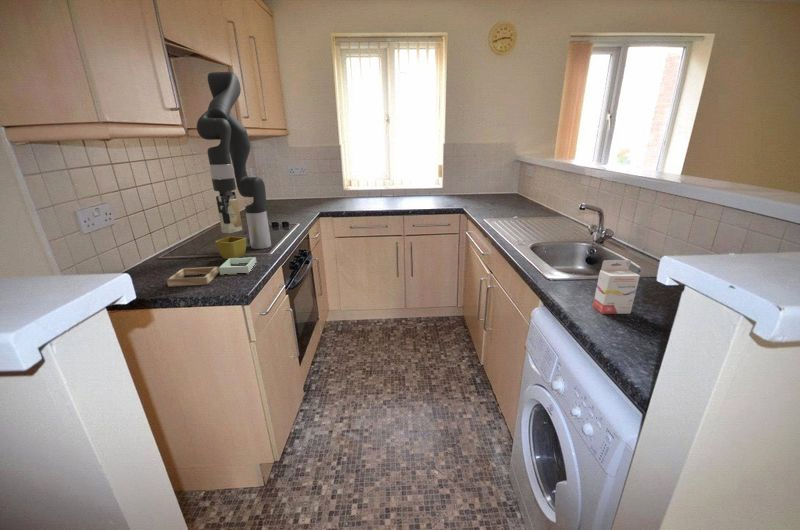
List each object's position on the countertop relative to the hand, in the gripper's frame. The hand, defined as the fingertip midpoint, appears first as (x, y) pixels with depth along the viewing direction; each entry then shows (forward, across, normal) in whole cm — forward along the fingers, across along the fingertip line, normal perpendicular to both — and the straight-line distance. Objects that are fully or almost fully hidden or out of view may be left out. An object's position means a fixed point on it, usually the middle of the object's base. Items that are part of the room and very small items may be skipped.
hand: (230, 221), depth 130 cm
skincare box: (+4, 0, 0) cm, 4 cm away
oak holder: (+19, +9, -13) cm, 25 cm away
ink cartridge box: (+20, +57, +119) cm, 133 cm away
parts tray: (+19, 0, 0) cm, 19 cm away
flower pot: (+20, -14, -6) cm, 25 cm away
